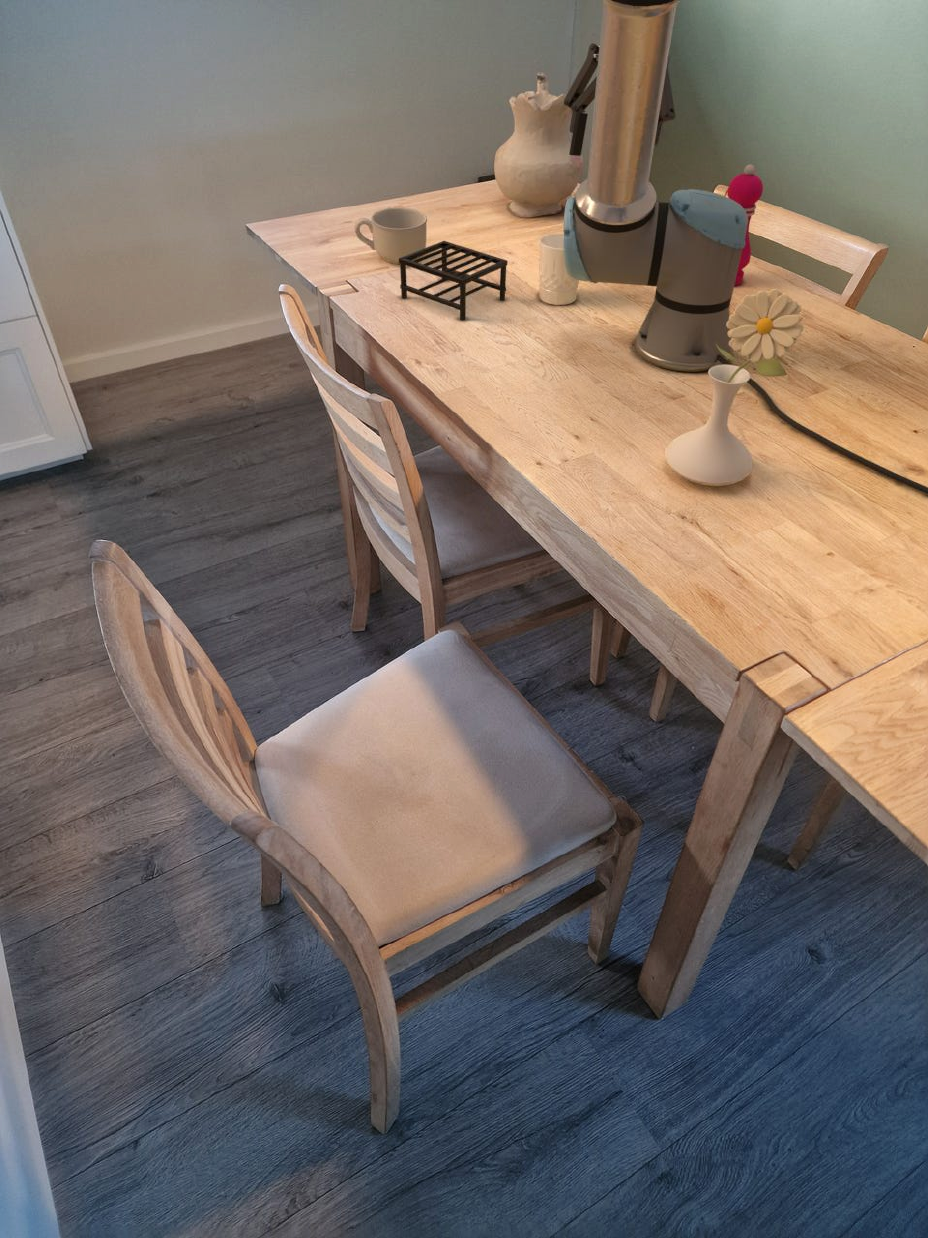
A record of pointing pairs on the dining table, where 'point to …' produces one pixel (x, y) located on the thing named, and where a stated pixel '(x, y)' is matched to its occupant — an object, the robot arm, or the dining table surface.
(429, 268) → the wire rack
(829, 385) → the dining table surface
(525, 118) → the ceramic pitcher
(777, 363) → the flower in vase
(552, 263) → the white cup
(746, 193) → the pepper mill
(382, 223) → the teacup
